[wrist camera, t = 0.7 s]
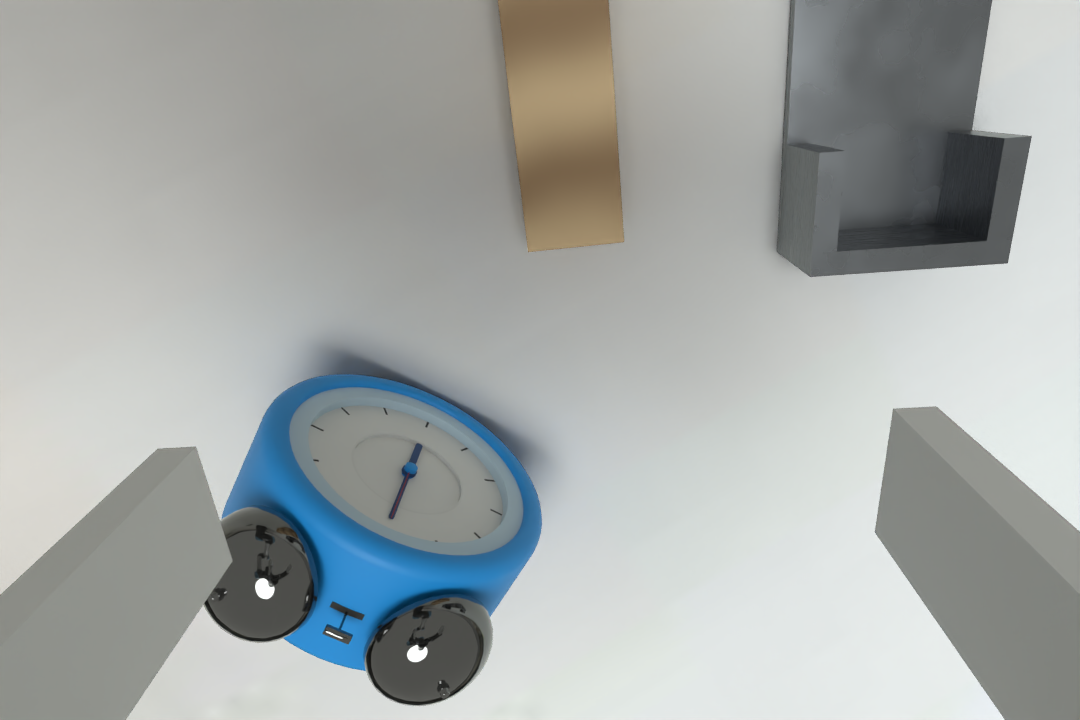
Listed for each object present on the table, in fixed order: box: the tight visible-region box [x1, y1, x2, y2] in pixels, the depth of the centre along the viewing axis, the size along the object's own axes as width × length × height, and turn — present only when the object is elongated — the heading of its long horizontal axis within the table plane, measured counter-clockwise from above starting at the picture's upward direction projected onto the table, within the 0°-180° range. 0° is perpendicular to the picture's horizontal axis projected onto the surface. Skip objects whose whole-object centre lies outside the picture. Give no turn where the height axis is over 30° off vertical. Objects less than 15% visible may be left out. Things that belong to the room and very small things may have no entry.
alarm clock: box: [203, 374, 542, 706], centre depth 30 cm, size 13×6×15 cm, turn 61°
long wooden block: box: [498, 0, 624, 252], centre depth 26 cm, size 18×4×5 cm, turn 6°
